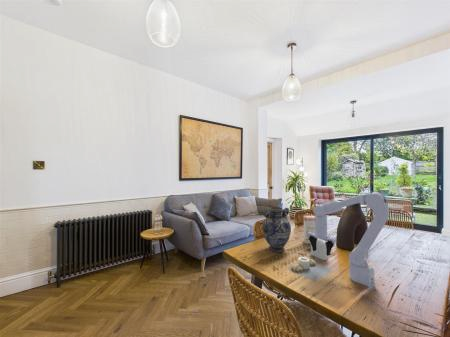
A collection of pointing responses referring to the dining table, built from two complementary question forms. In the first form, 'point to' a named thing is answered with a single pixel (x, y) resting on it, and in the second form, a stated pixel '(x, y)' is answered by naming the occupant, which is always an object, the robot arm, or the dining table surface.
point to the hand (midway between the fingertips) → (321, 252)
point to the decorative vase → (276, 228)
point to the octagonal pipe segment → (304, 262)
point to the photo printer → (320, 250)
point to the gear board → (311, 270)
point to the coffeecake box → (309, 227)
